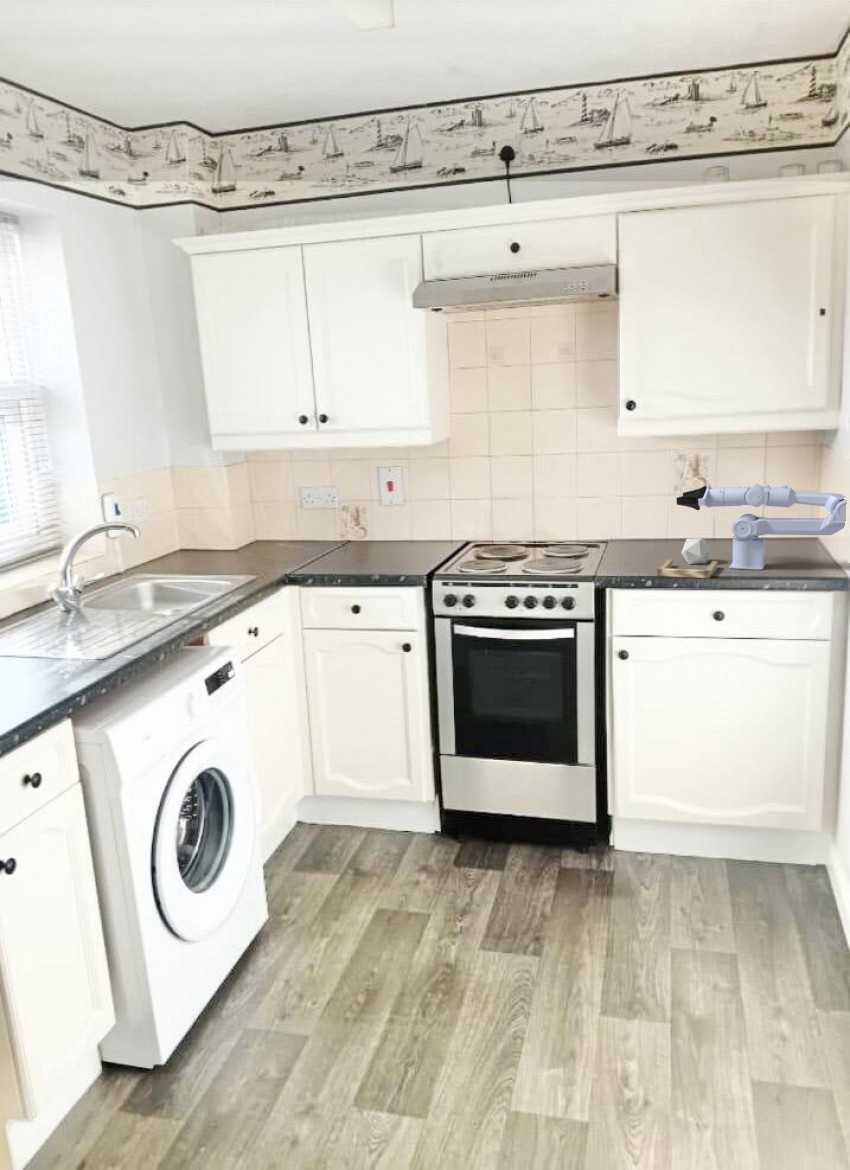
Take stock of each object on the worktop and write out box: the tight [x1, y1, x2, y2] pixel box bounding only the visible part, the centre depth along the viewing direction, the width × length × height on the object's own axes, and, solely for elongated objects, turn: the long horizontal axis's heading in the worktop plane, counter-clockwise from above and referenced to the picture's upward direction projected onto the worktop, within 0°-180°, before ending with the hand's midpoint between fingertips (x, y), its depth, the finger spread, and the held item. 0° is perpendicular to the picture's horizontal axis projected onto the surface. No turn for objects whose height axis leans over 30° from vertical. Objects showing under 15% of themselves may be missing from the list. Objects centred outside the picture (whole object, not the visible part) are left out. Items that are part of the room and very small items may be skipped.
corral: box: [656, 559, 719, 579], centre depth 272 cm, size 15×14×2 cm
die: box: [680, 537, 712, 565], centre depth 283 cm, size 8×9×10 cm
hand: (680, 498), depth 279 cm, fingers open, 7 cm apart
